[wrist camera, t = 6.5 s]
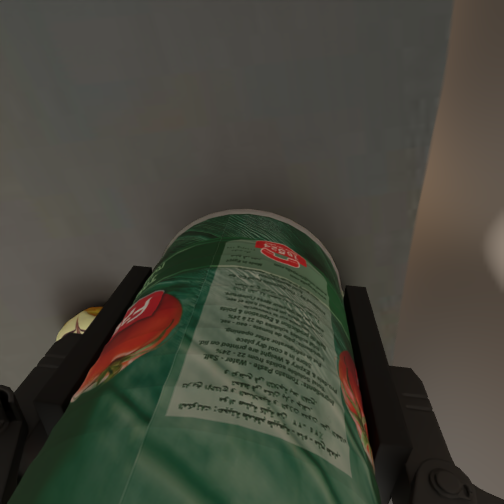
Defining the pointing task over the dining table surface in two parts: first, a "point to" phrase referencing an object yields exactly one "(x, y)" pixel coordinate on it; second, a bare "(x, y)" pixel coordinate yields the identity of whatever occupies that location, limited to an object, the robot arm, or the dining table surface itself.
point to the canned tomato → (219, 383)
